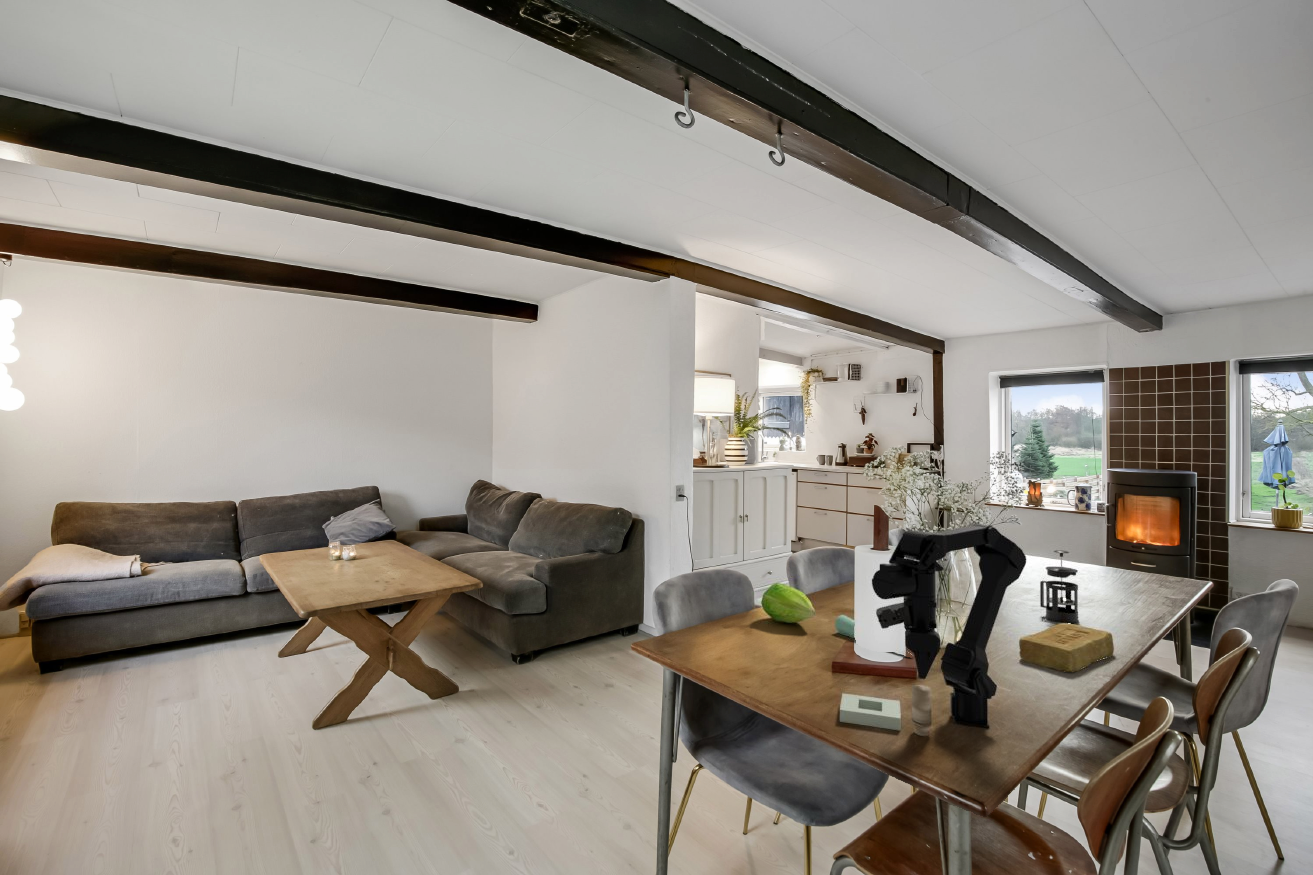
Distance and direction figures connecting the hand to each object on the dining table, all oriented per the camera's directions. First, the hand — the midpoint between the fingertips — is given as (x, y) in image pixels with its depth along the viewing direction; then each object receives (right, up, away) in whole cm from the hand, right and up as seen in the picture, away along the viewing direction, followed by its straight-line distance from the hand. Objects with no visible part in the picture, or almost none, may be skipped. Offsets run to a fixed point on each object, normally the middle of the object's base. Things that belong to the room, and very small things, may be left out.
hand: (921, 670), depth 125 cm
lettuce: (-10, -14, +75) cm, 77 cm away
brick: (+59, -14, +44) cm, 75 cm away
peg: (0, -13, 0) cm, 13 cm away
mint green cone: (+10, -14, +55) cm, 57 cm away
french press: (+81, -13, +80) cm, 114 cm away
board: (-8, -13, +7) cm, 17 cm away
